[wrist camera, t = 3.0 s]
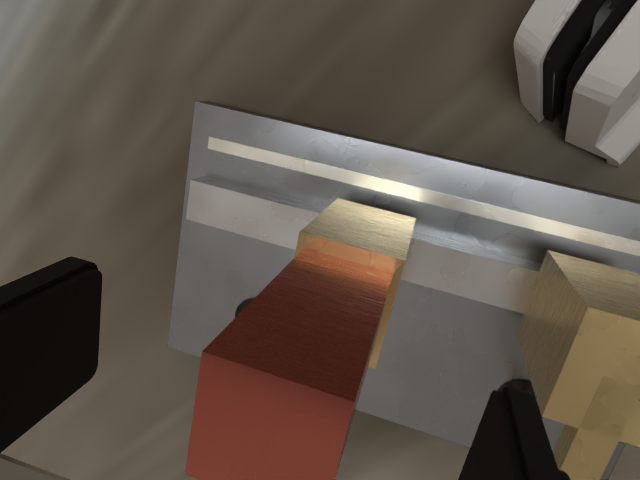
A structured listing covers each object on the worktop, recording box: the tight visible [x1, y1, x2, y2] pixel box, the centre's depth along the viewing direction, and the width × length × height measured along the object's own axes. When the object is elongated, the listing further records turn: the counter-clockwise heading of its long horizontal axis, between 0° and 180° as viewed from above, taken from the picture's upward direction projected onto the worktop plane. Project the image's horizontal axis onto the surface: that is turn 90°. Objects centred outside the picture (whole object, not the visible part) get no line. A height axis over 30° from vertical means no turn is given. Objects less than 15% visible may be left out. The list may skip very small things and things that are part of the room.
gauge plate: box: [168, 101, 640, 480], centre depth 21 cm, size 14×24×9 cm, turn 78°
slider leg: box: [185, 198, 416, 480], centre depth 17 cm, size 8×4×14 cm, turn 169°
